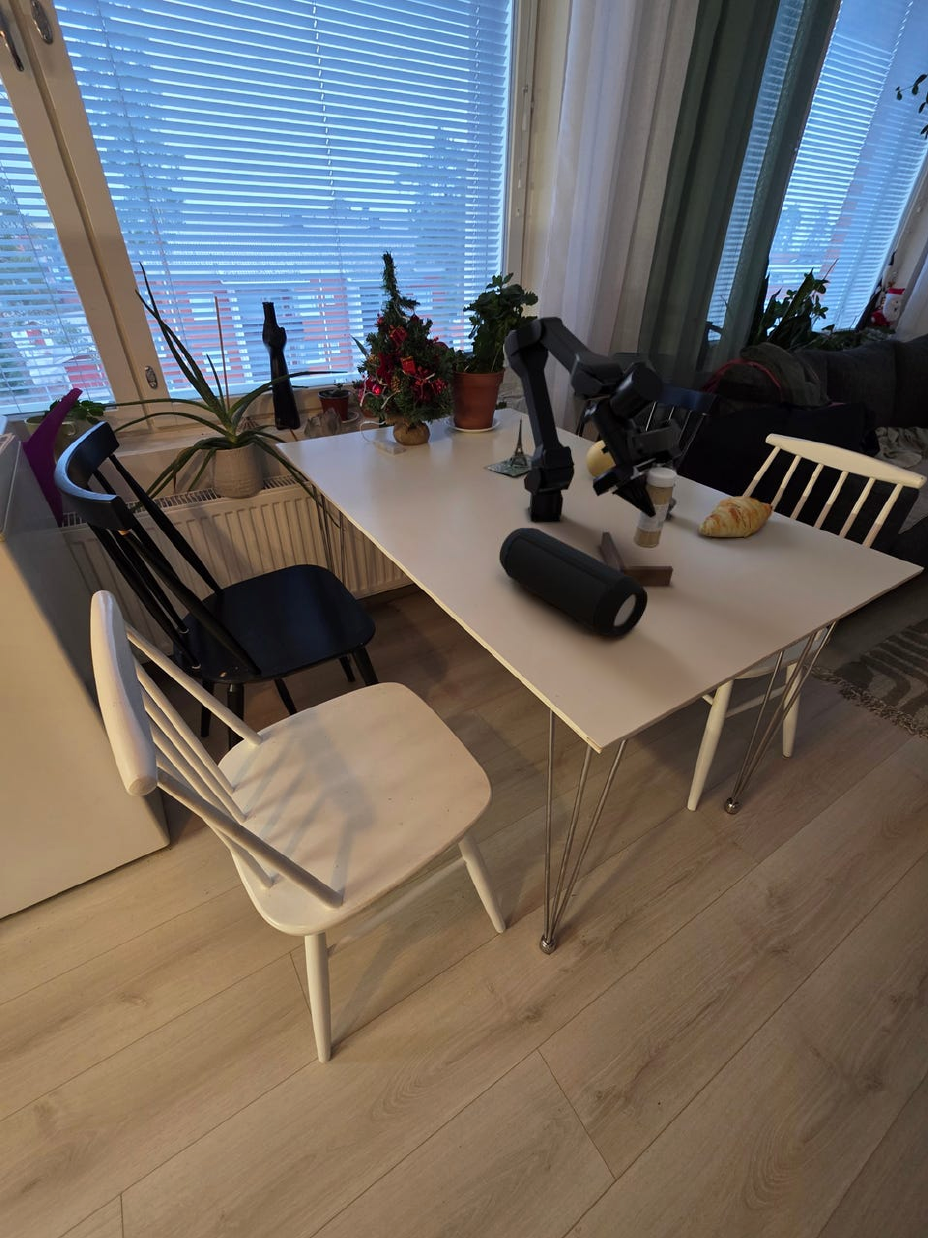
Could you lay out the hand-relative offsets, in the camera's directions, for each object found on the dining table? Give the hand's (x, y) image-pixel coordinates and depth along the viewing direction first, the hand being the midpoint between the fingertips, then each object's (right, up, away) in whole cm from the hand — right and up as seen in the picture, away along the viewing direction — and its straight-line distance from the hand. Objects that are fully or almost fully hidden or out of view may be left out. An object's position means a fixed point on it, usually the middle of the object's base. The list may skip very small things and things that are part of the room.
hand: (660, 512), depth 90 cm
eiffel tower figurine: (-19, +23, +53) cm, 61 cm away
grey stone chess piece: (+10, +5, +28) cm, 30 cm away
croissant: (+24, +1, +23) cm, 33 cm away
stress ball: (+2, +18, +46) cm, 49 cm away
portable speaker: (-17, -16, 0) cm, 23 cm away
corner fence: (-2, -8, +10) cm, 13 cm away
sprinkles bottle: (-1, -5, +5) cm, 7 cm away
